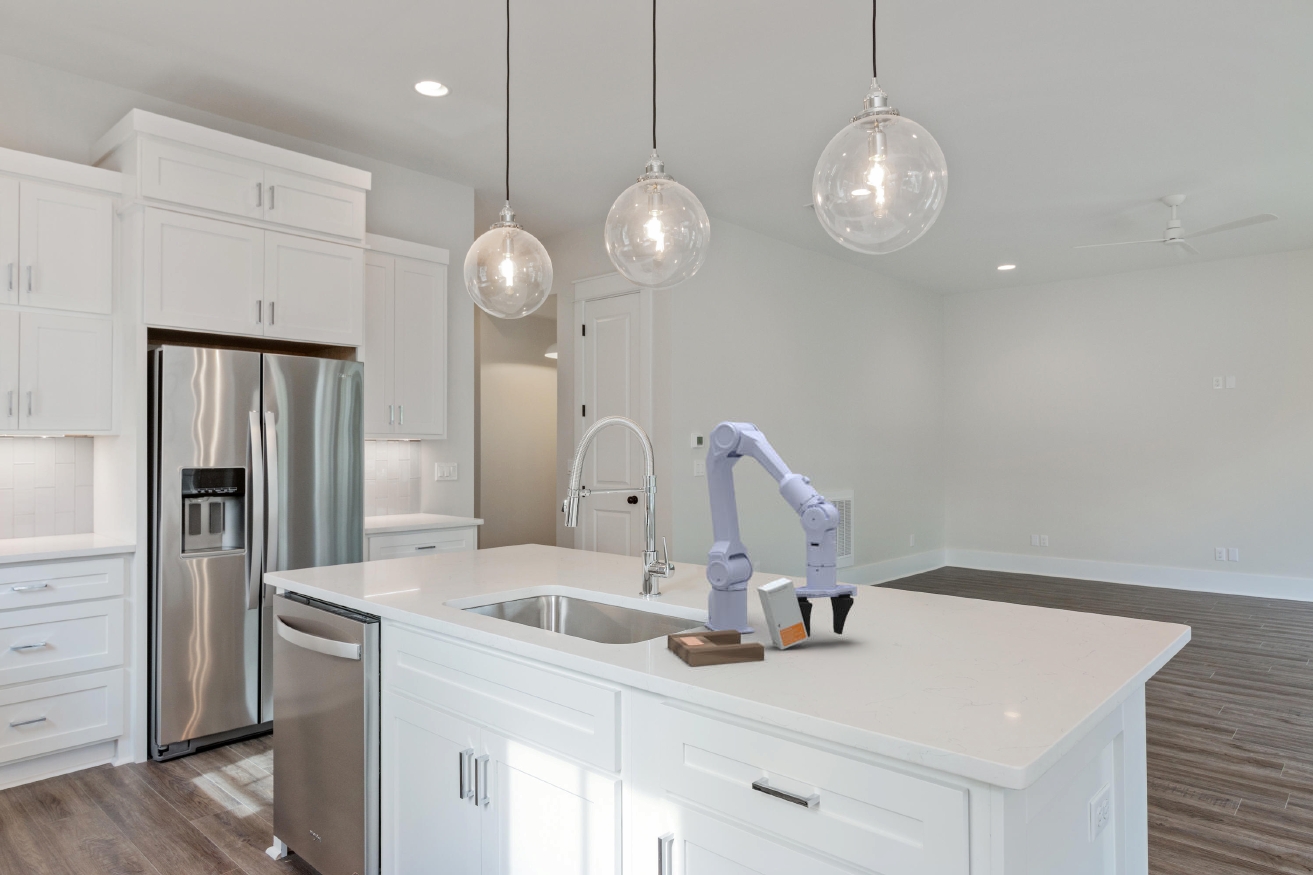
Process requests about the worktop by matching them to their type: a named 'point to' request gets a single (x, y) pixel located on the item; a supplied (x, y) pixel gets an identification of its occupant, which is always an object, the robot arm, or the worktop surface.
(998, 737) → the worktop surface
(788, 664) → the worktop surface
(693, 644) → the rack board
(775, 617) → the skincare box
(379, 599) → the worktop surface
